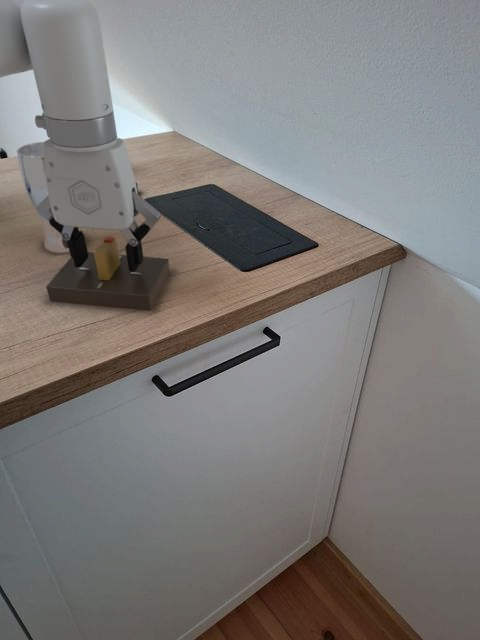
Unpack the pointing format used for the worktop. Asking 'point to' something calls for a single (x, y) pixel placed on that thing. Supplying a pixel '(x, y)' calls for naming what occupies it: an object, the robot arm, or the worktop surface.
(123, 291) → the plate
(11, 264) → the worktop surface
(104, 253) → the thumb turn
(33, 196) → the beer glass
